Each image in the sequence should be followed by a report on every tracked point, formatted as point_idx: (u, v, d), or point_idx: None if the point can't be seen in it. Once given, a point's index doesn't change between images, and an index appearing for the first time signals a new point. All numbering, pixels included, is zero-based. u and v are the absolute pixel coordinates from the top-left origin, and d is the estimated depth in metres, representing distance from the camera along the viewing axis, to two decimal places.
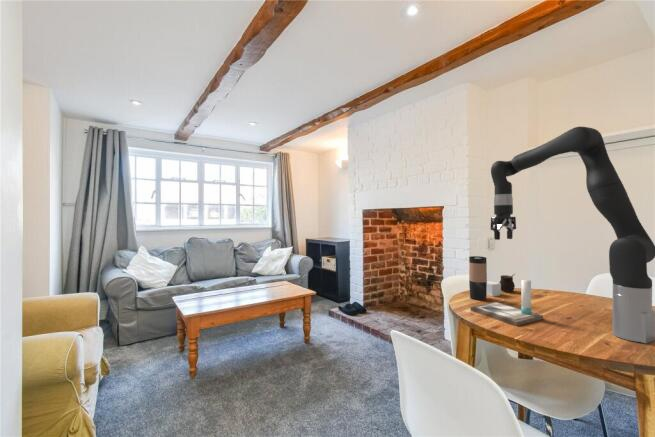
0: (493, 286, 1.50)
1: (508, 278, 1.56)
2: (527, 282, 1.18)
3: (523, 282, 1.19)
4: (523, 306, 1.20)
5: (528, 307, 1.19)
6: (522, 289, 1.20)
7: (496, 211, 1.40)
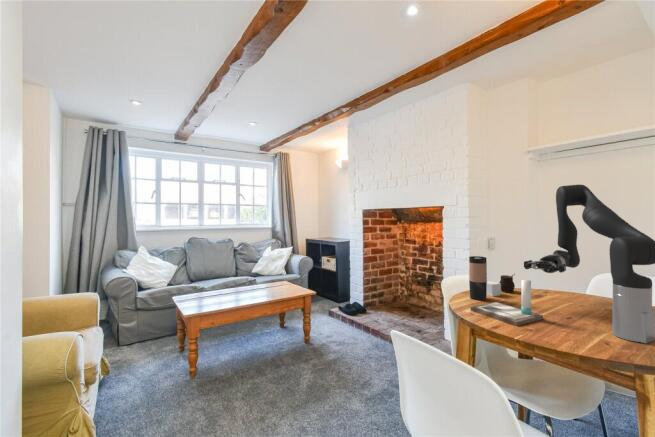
0: (493, 286, 1.50)
1: (508, 278, 1.56)
2: (527, 282, 1.18)
3: (523, 282, 1.19)
4: (523, 306, 1.20)
5: (528, 307, 1.19)
6: (522, 289, 1.20)
7: None
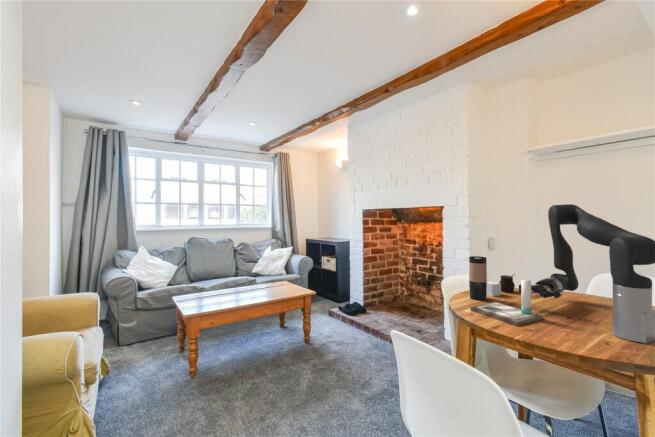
0: (493, 286, 1.50)
1: (508, 278, 1.56)
2: (527, 282, 1.18)
3: (523, 282, 1.19)
4: (523, 306, 1.20)
5: (528, 307, 1.19)
6: (522, 289, 1.20)
7: None
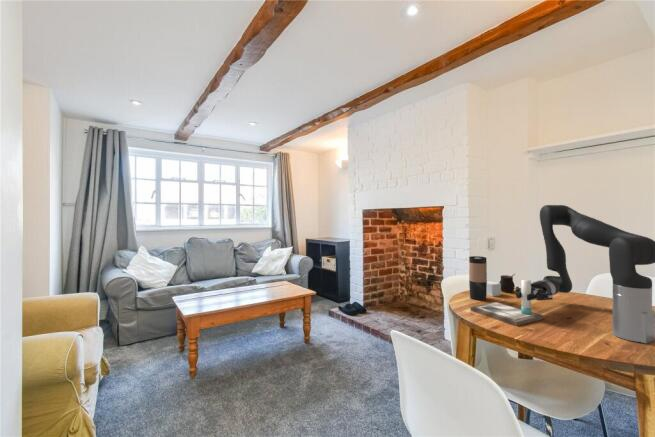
0: (493, 286, 1.50)
1: (508, 278, 1.56)
2: (527, 282, 1.18)
3: (523, 282, 1.19)
4: (523, 306, 1.20)
5: (528, 307, 1.19)
6: (522, 289, 1.20)
7: None
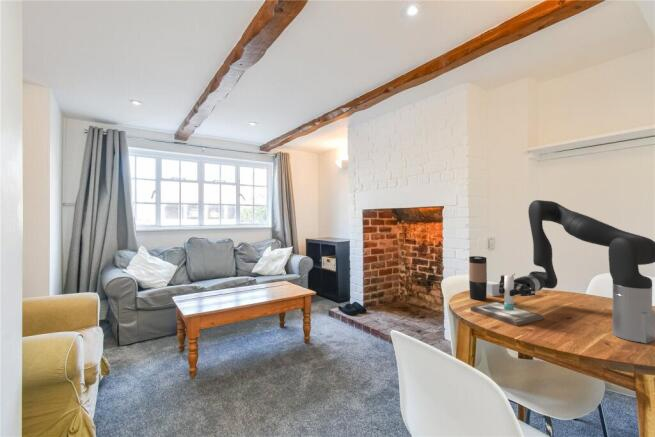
0: (493, 286, 1.50)
1: None
2: (510, 278, 1.18)
3: (506, 278, 1.18)
4: (506, 302, 1.19)
5: (511, 303, 1.18)
6: (505, 285, 1.19)
7: None
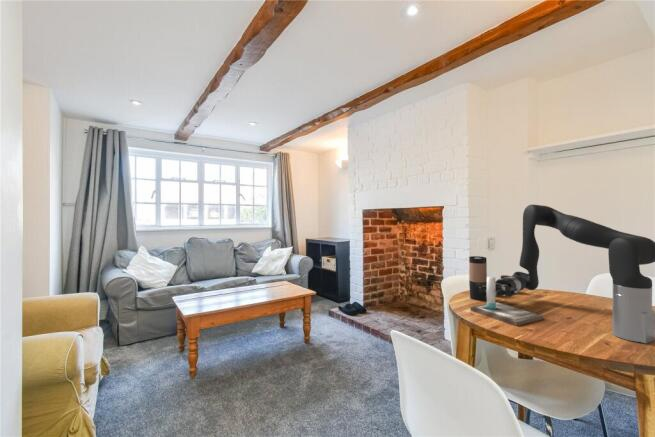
0: None
1: None
2: (491, 279, 1.25)
3: (488, 279, 1.26)
4: (488, 301, 1.26)
5: (492, 302, 1.25)
6: (487, 285, 1.26)
7: None
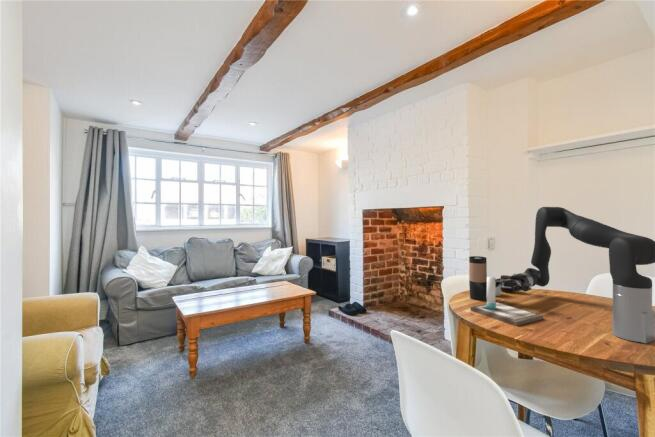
0: None
1: None
2: (491, 279, 1.25)
3: (488, 279, 1.26)
4: (488, 301, 1.26)
5: (492, 302, 1.25)
6: (487, 285, 1.26)
7: None
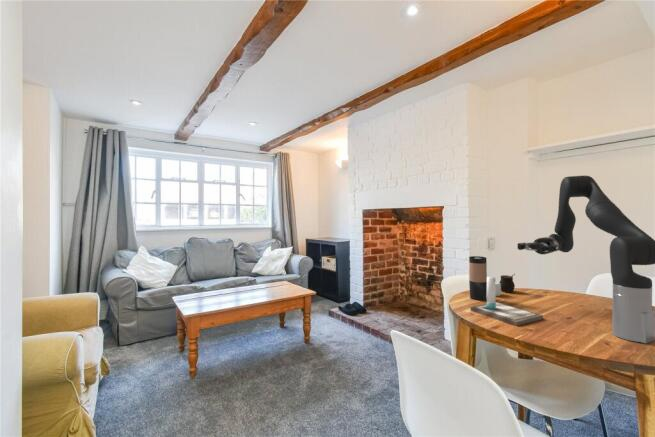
0: None
1: (508, 278, 1.56)
2: (491, 279, 1.25)
3: (488, 279, 1.26)
4: (488, 301, 1.26)
5: (492, 302, 1.25)
6: (487, 285, 1.26)
7: None
